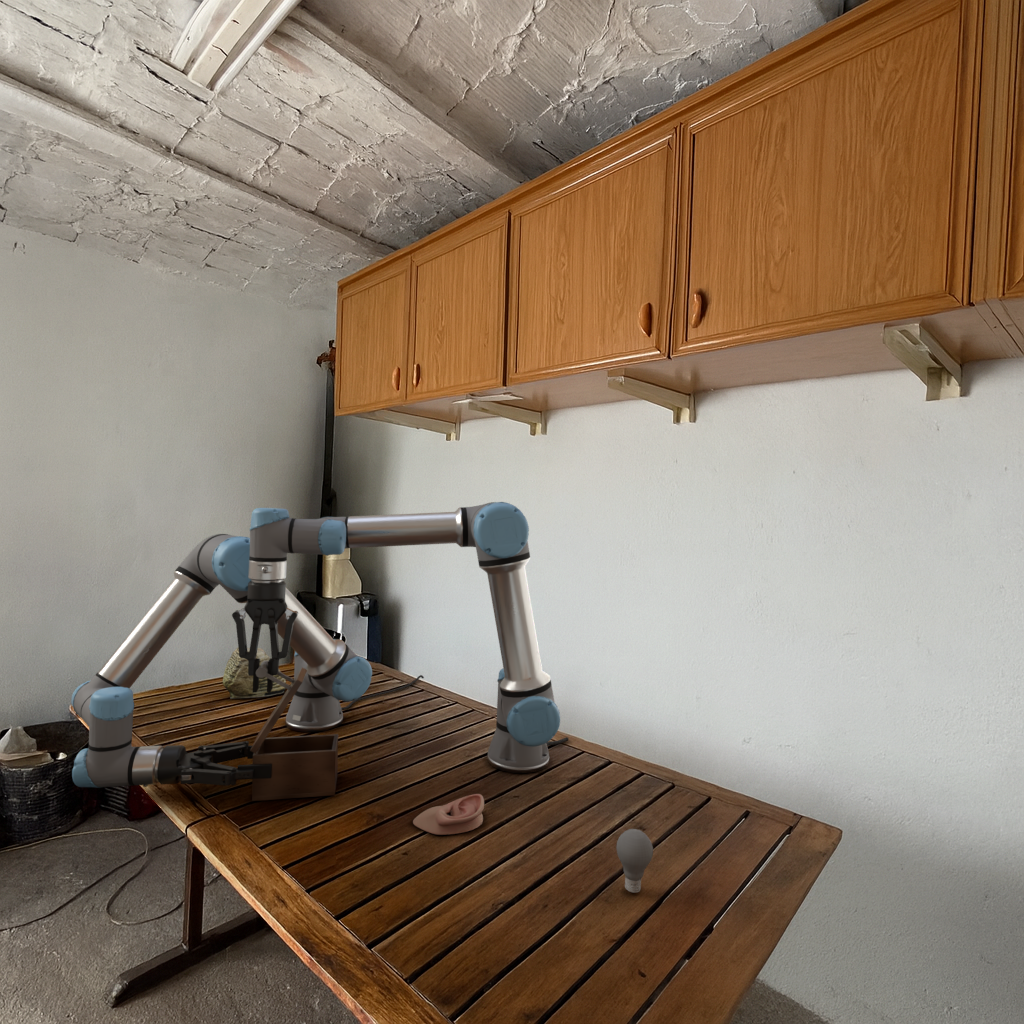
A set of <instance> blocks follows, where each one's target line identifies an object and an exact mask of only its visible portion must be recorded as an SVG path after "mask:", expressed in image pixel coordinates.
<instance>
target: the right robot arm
mask: <svg viewBox="0 0 1024 1024" xmlns="http://www.w3.org/2000/svg"><path fill="white" fill-rule="evenodd" d="M529 537H530V527H529V523H528V519H527V518H526V516H525V514H524V513H523V512H522V510H521V509H519V508H518V507H517V506H515V505H514V504H511V503H510V502H505V501H493V502H487V503H483V504H478V505H473V506H465V507H464V506H463V507H462V506H461V507H458V508H457V509H456V510H455V511H444V512H443V511H442V512H441V511H440V512H421V513H419V512H418V513H397V514H375V515H352V516H350V515H349V516H322V517H320V518H294V517H291V515H290V512H289V510H288V509H287V508H279V507H257V508H254V509H253V510H252V512H251V518H250V527H249V538H250V557H249V572H248V578H249V579H251V581H250V582H249V583H248V596H247V603H245V604H244V607H243V608H241V609H237V610H235V611H234V612H233V613H231V617H232V619H233V621H234V623H235V627H236V638H237V648H239V656H240V658H245V659H247V660H248V662H249V663H248V675H249V676H253V692H257V690H258V689H259V677H257V676H256V671H257V669H258V668H259V666H260V658H259V659H256V656H257V649H258V648H259V641H260V635H261V630H262V626H263V625H268V629H269V640H270V653H271V657H269V658H270V659H269V661H268V674H270V675H272V676H273V675H277V673H278V671H279V670H280V669H279V667H280V660H282V659H285V658H287V656H288V654H289V650H290V647H291V646H290V641H291V635H292V630H293V624H294V621H295V619H296V617H297V616H298V612H297V611H293V610H291V609H289V608H287V604H286V602H285V591H286V588H287V583H286V581H285V579H286V578H287V564H288V563H287V562H288V554H302V555H303V554H304V555H323V556H326V557H327V556H338V555H342V554H343V553H344V552H345V549H360V548H380V547H402V546H405V547H406V546H424V545H427V546H428V545H446V544H457V545H458V546H459V547H460V548H475V550H476V551H475V552H476V556H477V563H478V567H479V568H480V569H481V570H483V571H484V572H485V573H486V574H487V575H486V576H487V579H488V586H489V592H490V598H491V604H492V609H493V615H494V616H493V617H494V620H495V625H496V627H495V628H496V633H497V638H498V644H499V649H500V656H501V662H502V668H501V669H499V671H498V677H497V681H496V682H497V701H496V724H495V725H496V726H495V731H494V734H493V735H492V739H491V741H490V744H489V746H488V750H487V762H488V763H489V765H490V766H492V767H493V768H495V769H497V770H499V771H503V772H506V773H512V774H531V773H536V772H540V771H542V770H544V769H546V768H547V767H548V766H549V764H550V752H549V748H548V747H549V746H556V745H560V744H564V743H566V742H568V741H569V740H570V739H569V737H567V736H566V737H563V738H562V739H559V740H552V739H553V738H554V737H555V736H556V734H557V733H558V732H559V729H560V725H561V713H560V709H559V705H557V703H556V701H555V696H554V691H553V685H552V680H551V675H550V674H549V673H547V672H546V671H545V670H544V669H543V665H542V661H541V654H540V647H539V643H538V636H537V630H536V625H535V618H534V612H533V605H532V600H531V594H530V588H529V582H528V576H527V570H526V566H527V564H528V563H529V561H530V560H531V554H530V553H531V552H530V547H529V541H528V540H529ZM284 613H286V619H287V620H288V621H287V624H286V630H285V635H284V639H283V641H282V647H281V651H280V645H279V634H278V628H277V626H278V623H277V621H278V620H279V619H280V618H281V616H282V615H283V614H284ZM246 614H247V616H248V617H249V618H250V619H251V621H252V622H253V623H252V631H251V632H252V633H251V639H250V644H249V648H250V650H249V652H248V651H247V648H248V643H247V642H248V641H247V632H246V631H247V630H246V623H245V618H246ZM272 688H273V681H272V680H270V679H268V678H267V692H271V690H272Z"/></svg>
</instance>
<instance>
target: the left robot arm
mask: <svg viewBox="0 0 1024 1024" xmlns="http://www.w3.org/2000/svg"><path fill="white" fill-rule="evenodd" d="M249 557H250V537H248V536H239V535H232V534H227V533H217V534H212V535H210V536H208V537H206V538H204V539H202V540H201V541H200V542H199V543H197V544H196V545H195V546H194V548H193V549H192V550H191V551H190V552H189V553H188V554H187V556H186V557H185V558H184V559H183V560H182V561H181V563H180V564H179V565H178V566H177V567H176V568H175V570H174V571H173V576H174V577H173V579H172V581H171V582H170V583H169V584H168V586H167V587H166V588H165V590H164V591H162V593H161V594H160V595H159V597H158V598H157V599H156V600H155V601H154V602H153V604H152V605H151V606H150V608H149V609H148V610H147V611H146V613H145V614H144V615H143V616H142V618H140V620H139V621H138V622H137V624H136V625H135V626H134V627H133V628H132V629H131V630H130V632H129V633H128V634H127V635H126V637H125V638H124V639H123V640H122V641H121V643H120V644H119V645H118V647H117V648H116V649H115V651H113V653H112V654H111V655H110V657H109V658H108V659H107V660H106V661H105V662H104V664H103V665H102V666H101V668H100V669H99V670H98V671H97V672H96V673H95V675H94V676H93V677H91V679H90V680H87V681H84V682H83V683H81V684H80V685H78V686H77V687H76V688H75V690H74V691H73V692H72V694H71V699H70V701H71V706H72V708H73V711H74V712H75V714H76V715H77V716H78V717H79V718H80V719H82V720H83V722H84V723H85V724H86V725H87V727H88V747H87V748H83V749H81V750H80V751H79V752H78V753H77V755H76V757H75V758H74V760H73V768H72V769H71V777H72V782H73V783H74V785H75V786H77V787H78V788H95V789H96V788H97V789H100V788H101V789H103V788H112V787H130V786H132V787H133V786H135V787H136V786H142V787H143V788H147V787H148V786H152V785H154V786H155V785H157V784H160V785H177V784H179V783H180V784H181V785H186V784H187V785H188V784H198V785H199V784H200V785H212V786H226V787H229V786H235V785H237V780H252V779H265V778H271V774H272V764H254V765H253V764H238V765H237V767H235V766H230V765H226V764H221V763H225V762H229V761H235V760H239V759H243V758H247V760H253V754H254V753H253V752H252V751H250V750H251V748H252V746H253V744H252V745H251V744H250V743H249V741H248V740H244V741H237V742H236V741H235V742H227V743H221V744H220V743H219V744H211V745H199V746H197V750H196V751H191V752H187V748H186V746H184V745H183V744H182V745H181V744H177V745H165V746H163V745H143V746H133V745H132V743H133V726H134V725H133V724H134V722H133V721H134V709H135V702H134V692H133V690H132V689H131V687H133V685H134V684H135V682H136V681H137V680H138V679H139V677H140V676H141V675H142V674H143V672H144V671H145V670H146V668H148V666H149V665H150V664H151V662H152V661H153V660H154V659H155V657H156V656H157V655H158V654H159V652H160V651H161V649H162V648H163V647H164V646H165V645H166V643H167V642H168V641H169V640H170V638H171V637H172V636H173V634H174V633H175V632H176V631H177V630H178V628H179V627H180V626H181V625H182V624H183V622H184V621H185V619H186V618H187V617H188V615H189V614H190V613H192V611H193V609H195V607H196V606H197V604H198V603H199V601H201V599H202V598H203V597H205V596H209V595H211V594H212V593H213V591H214V590H215V589H216V588H217V587H218V586H219V585H220V587H222V589H224V590H225V592H227V594H228V595H230V596H231V597H232V599H234V600H235V601H236V603H238V604H246V603H247V596H248V583H249V582H250V581H251V579H249V578H248V572H249ZM285 602H286V604H287V608H289V609H291V610H293V611H297V612H298V616H297V617H296V619H295V621H294V624H293V630H292V635H291V641H290V646H289V647H290V648H291V649H292V650H293V651H294V655H293V657H294V672H293V679H295V677H296V676H297V674H298V673H299V671H300V670H301V668H302V667H303V668H304V669H306V670H307V672H306V674H305V677H304V679H303V682H302V684H301V685H300V687H299V688H298V690H297V691H296V693H295V695H294V696H293V698H292V699H291V701H290V703H289V708H288V711H287V713H286V715H285V726H286V728H287V729H289V730H291V731H294V732H295V731H296V732H301V733H316V732H325V731H329V730H332V729H335V728H337V727H339V726H340V725H342V723H343V722H344V714H343V711H344V710H348V709H349V708H350V707H352V706H353V704H355V703H357V702H359V701H363V700H367V699H370V698H373V697H379V696H383V695H386V694H390V693H395V692H397V691H400V690H403V689H407V688H409V687H410V686H412V685H413V684H415V683H416V682H418V680H419V679H420V678H421V679H425V677H424V675H422V674H420V675H418V676H417V677H416V678H415V679H414V680H413V681H411V682H410V683H408V684H406V685H403V686H400V687H397V688H394V689H390V690H387V691H382V692H377V693H374V694H370V695H366V696H365V695H364V694H365V693H366V692H367V690H368V689H369V687H370V685H371V682H372V676H373V669H372V668H373V667H372V666H371V664H370V662H369V661H368V660H367V659H366V658H365V657H363V656H359V655H357V654H356V653H355V652H354V651H353V649H351V648H350V647H349V645H348V644H346V643H345V641H343V640H342V639H339V638H333V637H332V636H331V635H330V634H329V633H328V632H327V631H326V629H325V628H324V627H323V626H322V625H321V624H320V622H318V621H317V620H316V619H315V618H314V617H313V615H312V614H311V613H310V612H309V611H308V610H307V609H306V607H305V606H304V605H303V604H302V603H301V602H300V601H299V600H298V599H297V598H296V596H295V595H293V593H292V592H291V591H290V590H289V589H288V588H287V587H286V591H285ZM287 621H288V620H287V619H286V613H284V614H283V615H282V616H281V618H280V619H279V620H278V621H277V623H278V626H277V628H278V636H280V637H281V638H282V640H284V635H285V630H286V624H287ZM340 701H342V702H345V703H348V705H346V706H344V707H343V706H341V702H340Z"/></svg>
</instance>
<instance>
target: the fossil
mask: <svg viewBox="0 0 1024 1024" xmlns="http://www.w3.org/2000/svg"><path fill="white" fill-rule="evenodd" d="M249 650H250V647H247V651H248V652H249ZM259 658H260V665H261V663H262V662H263V661H269V659H270V658H271V657H270V656H269V655H268V654H267V653H266V652H265V650H264V649H263V648H260V647H258V649H257V656H256V659H259ZM248 663H249V662H248V660H247V659H245V658H240V656H239V648H238V647H237V648H236V649H235V650H233V651H232V653H231V656H230V657H229V659H228V660H227V663H226V666H225V668H224V671H223V675H222V676H223V677H222V685H223V687H224V688H225V690H226V691H228V693H229V698H230V699H250V698H264V697H271V696H275V695H281V694H284V693H285V692H286V691H287V689H286V688H285V687H283V686H281V685H279V684H277V683H276V682H274V681H273V688H272V690H271V692H267V678H266V677H263V678H259V689H258V690H257V692H253V676H249V675H248ZM279 671H280V672H281V669H279ZM273 676H274V677H275V678H277V679H279V680H281V681H283V682H284V683H286V684H287V680H286V679H284V678H282V677H280V676H279V675H273Z"/></svg>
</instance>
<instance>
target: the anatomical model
mask: <svg viewBox="0 0 1024 1024" xmlns="http://www.w3.org/2000/svg"><path fill="white" fill-rule="evenodd" d="M484 808H485V799H484V796H483V795H482V794H481V793H473V794H470V795H466V796H463V797H460V798H457V799H455V800H453V801H451V802H449V803H445V804H443V805H437V806H433V807H430V808H427V809H425V810H424V811H422V812H421V813H419V814H418V815H417V816H416V817H414V819H413V820H412V824H413V825H414V826H415V827H416V828H418V829H420V830H422V831H424V832H427V833H429V834H432V835H437V836H443V835H455V834H461V833H466V832H469V831H473V830H475V829H477V828H479V827H481V825H482V824H483V821H484V816H483V815H484V814H483V811H484Z"/></svg>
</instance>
